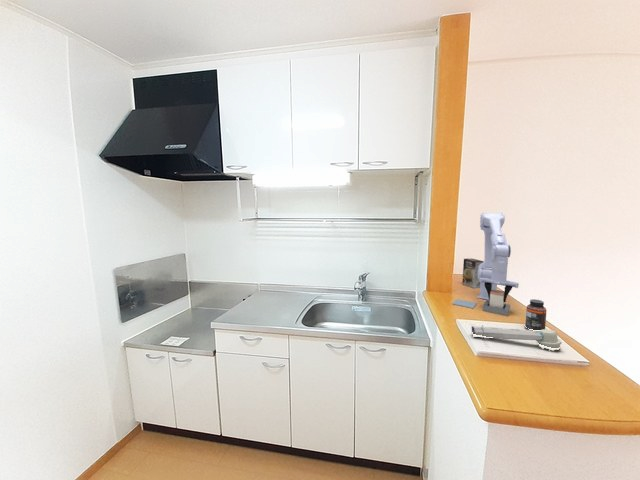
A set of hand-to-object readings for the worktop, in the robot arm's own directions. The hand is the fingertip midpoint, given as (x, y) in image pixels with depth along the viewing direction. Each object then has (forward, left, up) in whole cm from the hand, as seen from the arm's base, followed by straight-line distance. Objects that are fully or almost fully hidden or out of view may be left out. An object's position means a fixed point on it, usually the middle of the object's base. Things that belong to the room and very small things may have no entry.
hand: (497, 300), depth 121 cm
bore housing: (0, 0, -5) cm, 5 cm away
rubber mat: (0, -13, -5) cm, 14 cm away
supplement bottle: (+14, +14, -5) cm, 20 cm away
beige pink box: (0, 0, -4) cm, 4 cm away
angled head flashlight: (+32, +9, -5) cm, 33 cm away
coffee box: (-38, -17, -5) cm, 42 cm away
